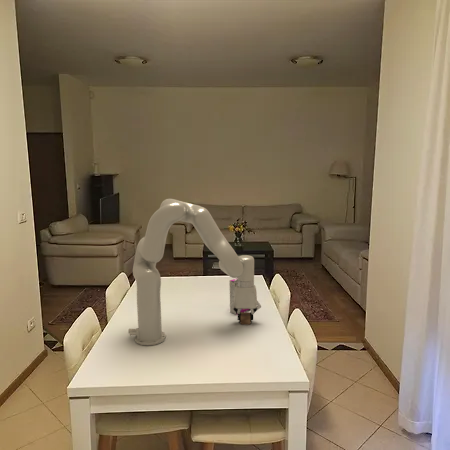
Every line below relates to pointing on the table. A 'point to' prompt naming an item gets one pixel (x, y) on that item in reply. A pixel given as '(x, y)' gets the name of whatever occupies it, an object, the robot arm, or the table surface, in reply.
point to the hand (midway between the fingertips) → (245, 321)
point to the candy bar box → (232, 293)
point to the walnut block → (245, 318)
